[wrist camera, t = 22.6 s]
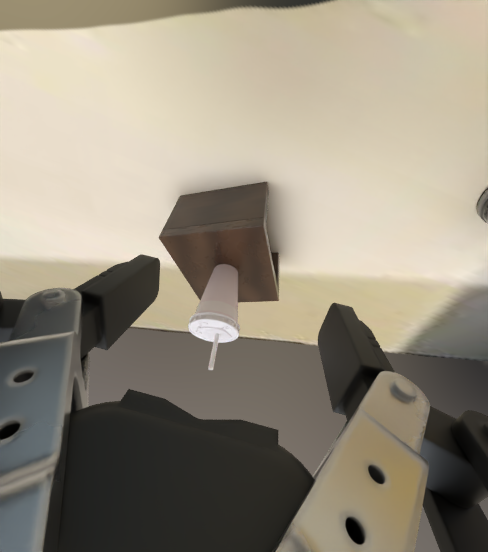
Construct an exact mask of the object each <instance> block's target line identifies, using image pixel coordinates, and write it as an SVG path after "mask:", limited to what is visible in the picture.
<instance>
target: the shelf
mask: <svg viewBox="0 0 488 552" xmlns="http://www.w3.org/2000/svg"><path fill="white" fill-rule="evenodd" d="M268 195H269V190H268V183H267V182H263V183H257V184H251V185H245V186H239V187H232V188H226V189H220V190H214V191H208V192H201V193H195V194H189V195H183V196H180V197H179V199H178V201H177V203H176V205H175V207H174V209H173V211H172V213H171V215H170V217H169V218H168V220H167V222H166V224H165V226H164V228H163V230H162V232H161V234H160V236H159V239H160V240H161V242H162V243H163V245H164V246H165V248H166V249H167V251H168V252H169V254H170V255H171V257H172V258H173V260H174V261H175V263H176V264H177V266H178V267H179V269H180V270H181V272H182V273H183V275H184V277H185V278H186V280H187V281H188V283H189V284H190V286H191V287H192V289H193V290H194V292H195V293H196V295H197V296H198V298H199V299H200V300H201V298H202V296H203V293H204V291H205V289H206V286H207V284H208V282H209V279H210V277H211V275H212V272H213V270H214V268H215V267H216V266H217V265H220V264H227V265H231V266H233V267H234V268H236V270H237V271H238V302H259V301H279V253H271V250H270V245H269V240H268V235H267V230H266V222H267V209H268Z"/></svg>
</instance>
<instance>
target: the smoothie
mask: <svg viewBox="0 0 488 552" xmlns="http://www.w3.org/2000/svg"><path fill="white" fill-rule="evenodd" d="M188 328H189V330H190V332H191V333H192V334H194V335H195V336H197V337H199V338H201V339H204V340H207V341H211V342H213V348H212V352H211V357H210V362H209V367H208V369H209V370H213V367H214V362H215V357H216V351H217V346H218V342H230V341H233V340H235V339H236V338H237V337H238V336H239V330H240V326H239V324H238V271H237V270H236V268H234V267H233V266H231V265H227V264H220V265H217V266H216V267H215V268H214V270H213V272H212V275H211V277H210V279H209V282H208V284H207V286H206V289H205V291H204V293H203V296H202V298H201V300H200V303H199V305H198V307H197V309H196V312H195V314H194V315H193V316H191V318H190V320H189V325H188Z"/></svg>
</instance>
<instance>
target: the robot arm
mask: <svg viewBox="0 0 488 552" xmlns="http://www.w3.org/2000/svg"><path fill="white" fill-rule="evenodd" d="M477 212H478V215H479V216H480V217H481V218H482V219H483V220H484V221H485V222H486V223H488V189H487V190H486V191H485V192H484V194H483V195H482V197H481V198H480V200H479V202H478V205H477ZM159 275H160V261H159V259H158V258H154V257H150V256H146V255H139V256H137V257H136V258H134V259H133V260H131V261H129V262H124V263H121V264H117V265H115V266H113V267H111V268H109V269H108V270H107V271H104V272H102V273H101V274H99V276H98V275H97V276H96V277H94V278H92V279H90V280H89V281H87V282H85V283H84V284H82V285H80V286H78V287H77V288H75V289H69V288H53V289H47V290H43V291H40V292H37V293H35V294H33V295H31V296H30V297H28V298H27V299H26V300H18V299H3V298H2V295H1V292H0V552H414V550H415V544H416V538H417V533H418V527H419V522H420V516H421V511H422V505H423V507H424V510H425V513H426V515H427V518H428V520H429V523H430V526H431V528H432V531H433V533H434V536H435V539H436V541H437V544H438V546H439V549H440V551H441V552H488V520H487V518H486V516H485V515H484V513H483V511H482V509H481V508H480V506H479V504H478V503H479V502H481V501H482V500H484V499H485V498H487V497H488V416H486V415H484V414H482V413H479V412H476V411H469V410H468V411H465V412H464V413H463V414H462V415H461V416H460V417H459V418H458V419H455V418H453V417H451V416H449V415H447V414H445V413H443V412H441V411H439V410H437V409H435V408H433V407H431V406H430V404H429V401H428V399H427V397H426V396H425V395H424V393H423V392H422V391H421V390H420V389H419V388H418V387H417V386H416V385H415V384H414V383H412V382H411V381H410V380H408V379H407V378H405V377H403V376H401V375H399V374H397V373H395V372H394V370H393V368H392V367H391V365H390V363H389V361H388V359H387V358H386V356H385V354H384V352H383V351H382V349H381V348H380V345H379V344H378V342H377V341H376V338H375V336H374V335H373V333H372V331H371V330H370V329H369V328H368V327H367V326H366V325H365V324H364V323H363V322H362V321H360V320H359V319H358V318H357V316H356V314H355V312H354V310H353V308H352V307H349V306H345V305H341V304H337V303H333V304H332V305H331V306H330V309H329V311H328V313H327V315H326V317H325V320H324V322H323V324H322V326H321V329H320V331H319V335H318V346H319V350H320V355H321V359H322V364H323V369H324V373H325V378H326V382H327V387H328V391H329V396H330V400H331V405H332V409H333V412H336V413H339V414H343V415H346V418H347V422H346V424H345V425H344V427H343V428H342V430H341V431H340V433H339V435H338V436H337V438H336V440H335V441H334V443H333V445H332V446H331V447H330V449H329V451H328V452H327V454H326V456H325V457H324V459H323V460H322V462H321V464H320V465H319V467H318V468H317V470H316V472H315V473H314V475H313V476H312V475H311V474H310V473H309V471H308V470H307V469H306V468H305V467H304V466H303V464H302V463H301V462H300V461H299V460H298V459H297V458H295V457H294V456H293V455H292V454H291V453H290V452H288V451H287V450H286V449H284V448H283V447H281V446H280V445H278V430H276V429H272V428H268V427H265V426H262V425H258V424H254V423H250V422H247V421H243V420H201V419H198V418H195V417H193V416H192V415H191V414H189V413H187V412H186V411H184V410H182V409H181V408H179V407H177V406H176V405H174V404H172V403H171V402H169V401H167V400H166V399H163V398H159V397H156V396H152V395H149V394H145V393H141V392H137V391H134V390H130V389H129V390H128V391H127V392H126V394H125V395H124V397H123V398H122V400H121V401H115V402H105V403H100V404H96V405H92V406H89V407H88V391H89V362H90V357H89V351H90V350H91V349H92V348H94V347H97V348H101V349H105V350H108V349H109V348H110V347H111V346H112V344H114V342H115V341H116V340H117V339H118V338H119V337H120V336H121V335H122V334H123V333H124V332H125V331H126V330H127V329H128V328H129V327H130V326H131V325H132V324H133V323H134V322H135V320H136V319H137V318H138V317H139V316H140V315H141V314H142V313H143V312H144V311H145V310H146V309H147V308H148V307H149V306H150V305H151V304H152V303H153V302H154V300H155V299H156V297H157V295H158V291H159Z"/></svg>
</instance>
